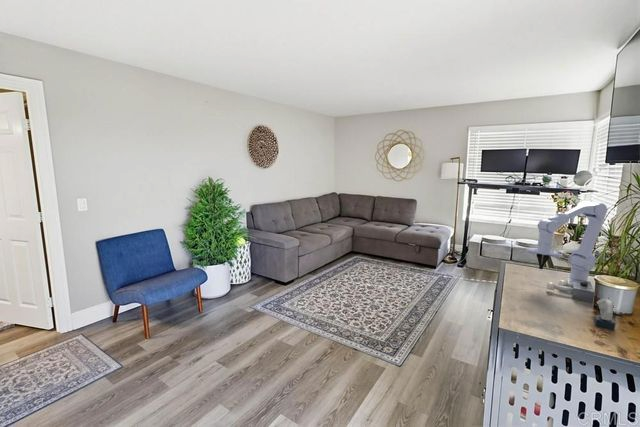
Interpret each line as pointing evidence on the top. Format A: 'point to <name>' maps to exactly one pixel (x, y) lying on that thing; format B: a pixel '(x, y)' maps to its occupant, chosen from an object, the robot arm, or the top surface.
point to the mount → (582, 290)
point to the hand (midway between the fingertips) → (540, 268)
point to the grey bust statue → (605, 315)
